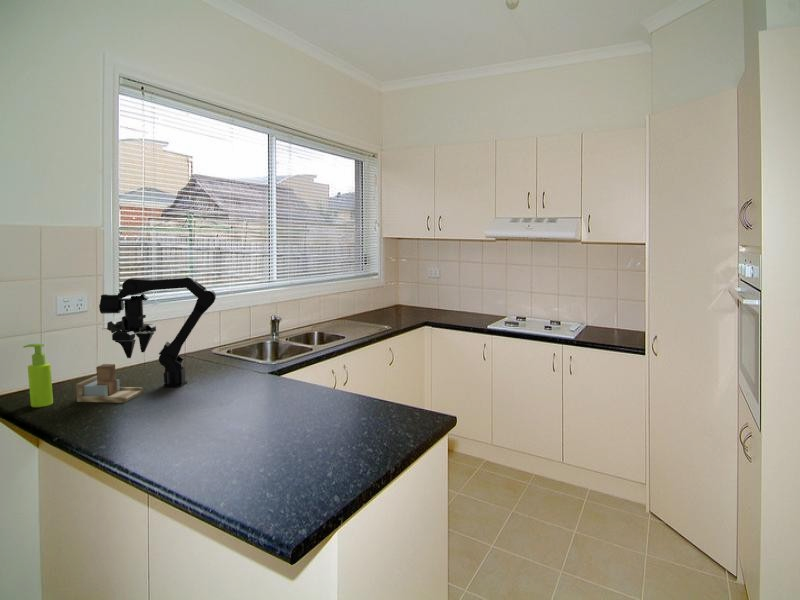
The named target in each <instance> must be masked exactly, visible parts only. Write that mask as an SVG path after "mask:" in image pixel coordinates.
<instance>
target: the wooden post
mask: <svg viewBox="0 0 800 600" xmlns="http://www.w3.org/2000/svg"><path fill="white" fill-rule="evenodd" d="M95 369H96V375H97V385H107V388H108V396H111V395H112V394H114V393H116V392H117V388H116V379H117V373H116V364H114V363H110V364H109V363H104V364H100V365H98V366H96V367H95Z"/></svg>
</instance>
